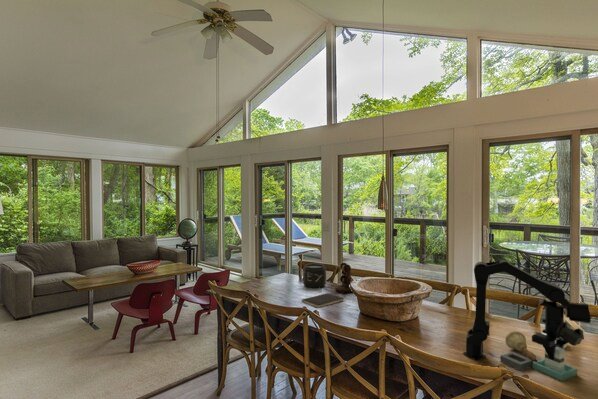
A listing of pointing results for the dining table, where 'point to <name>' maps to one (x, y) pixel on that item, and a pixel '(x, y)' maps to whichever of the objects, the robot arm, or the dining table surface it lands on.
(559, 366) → the block
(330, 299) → the hardcover book
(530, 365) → the socket block
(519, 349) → the hand bell
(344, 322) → the dining table surface
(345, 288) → the brown carved figurine
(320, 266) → the lettered dark canister
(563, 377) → the parts tray
